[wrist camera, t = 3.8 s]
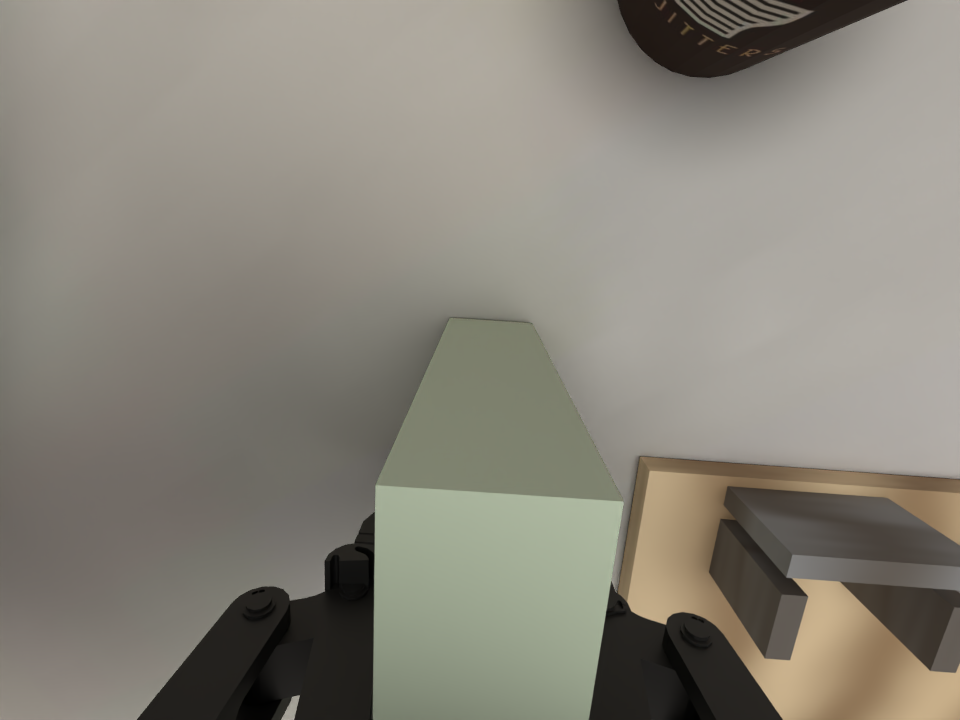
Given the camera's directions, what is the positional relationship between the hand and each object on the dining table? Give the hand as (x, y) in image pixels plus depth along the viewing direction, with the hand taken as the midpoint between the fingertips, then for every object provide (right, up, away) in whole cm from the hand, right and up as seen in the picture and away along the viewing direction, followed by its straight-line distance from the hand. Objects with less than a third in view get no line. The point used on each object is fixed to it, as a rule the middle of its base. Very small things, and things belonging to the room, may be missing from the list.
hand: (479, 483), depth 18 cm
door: (0, 0, +1) cm, 1 cm away
